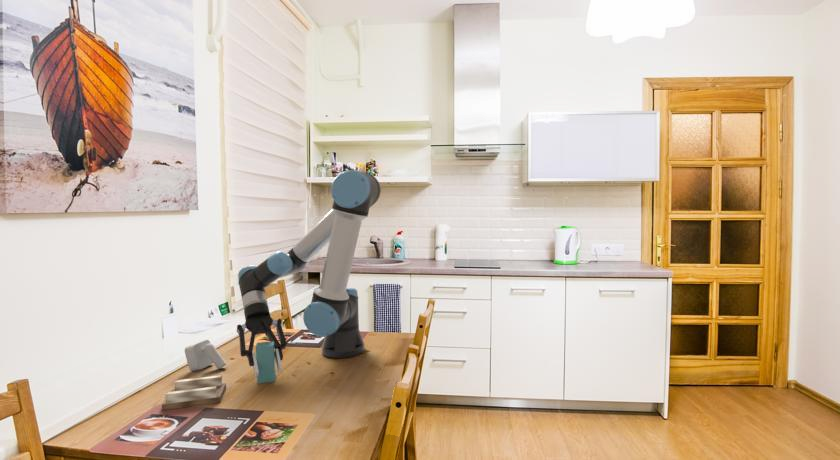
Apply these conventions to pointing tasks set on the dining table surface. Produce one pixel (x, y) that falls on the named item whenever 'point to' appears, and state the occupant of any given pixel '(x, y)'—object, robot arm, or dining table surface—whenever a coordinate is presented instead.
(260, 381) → the teal upright prism
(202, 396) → the display stand
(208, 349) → the wall hook
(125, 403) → the dining table surface
